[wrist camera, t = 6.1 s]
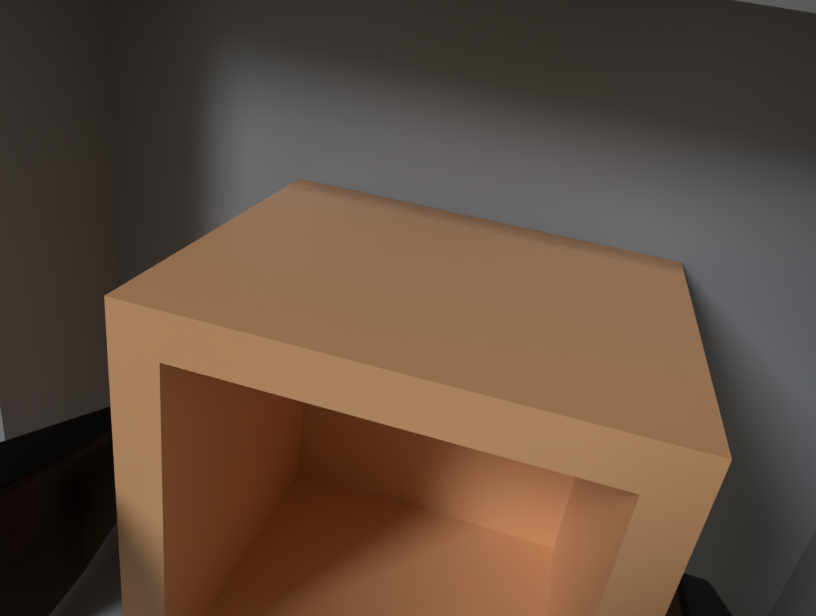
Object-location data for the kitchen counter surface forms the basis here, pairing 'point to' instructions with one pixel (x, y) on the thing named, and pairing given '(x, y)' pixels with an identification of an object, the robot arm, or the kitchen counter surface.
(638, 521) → the small crate
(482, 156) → the grey square tray
